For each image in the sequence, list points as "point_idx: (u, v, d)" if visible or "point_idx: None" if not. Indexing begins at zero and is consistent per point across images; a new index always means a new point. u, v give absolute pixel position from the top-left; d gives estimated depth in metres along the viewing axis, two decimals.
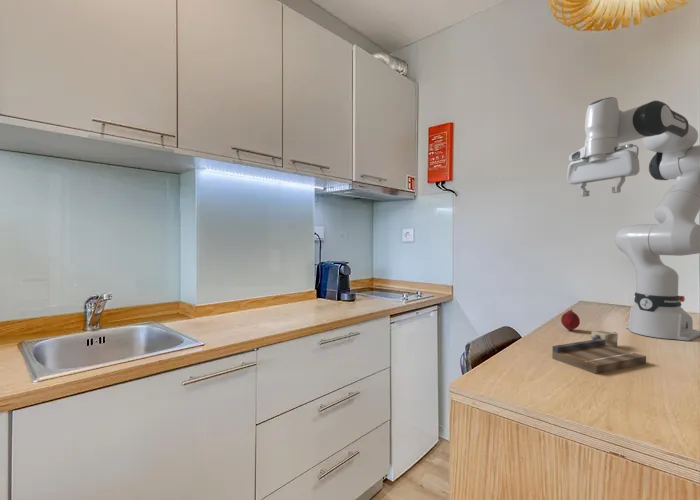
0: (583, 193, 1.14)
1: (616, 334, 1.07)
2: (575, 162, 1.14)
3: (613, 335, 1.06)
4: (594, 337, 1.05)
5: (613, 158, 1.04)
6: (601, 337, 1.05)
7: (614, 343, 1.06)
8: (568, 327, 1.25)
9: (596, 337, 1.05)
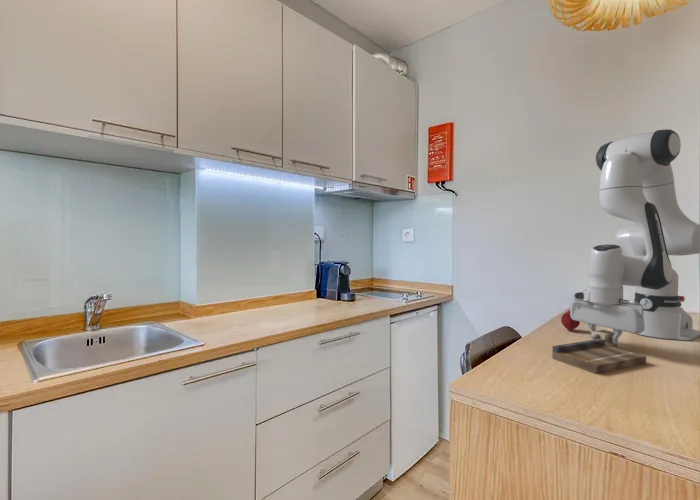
0: None
1: None
2: (578, 301, 1.12)
3: None
4: (594, 337, 1.05)
5: (617, 311, 1.02)
6: (601, 337, 1.05)
7: None
8: (568, 327, 1.25)
9: (596, 337, 1.05)
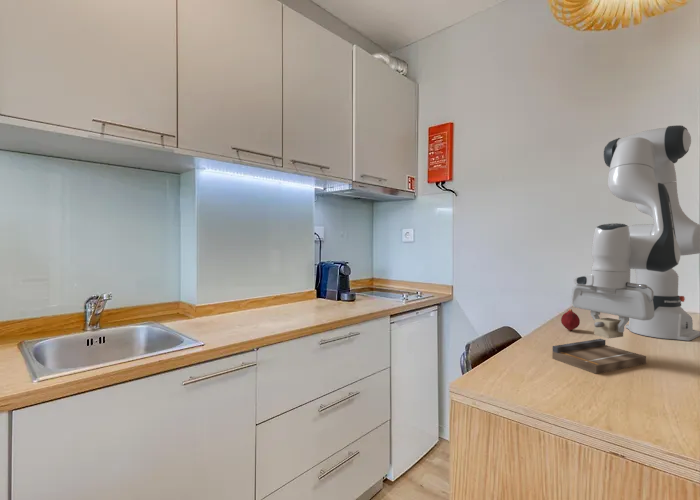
0: None
1: None
2: (581, 287, 1.02)
3: (619, 322, 0.96)
4: (598, 324, 0.95)
5: (624, 296, 0.92)
6: (605, 324, 0.95)
7: None
8: (568, 327, 1.25)
9: (600, 324, 0.95)
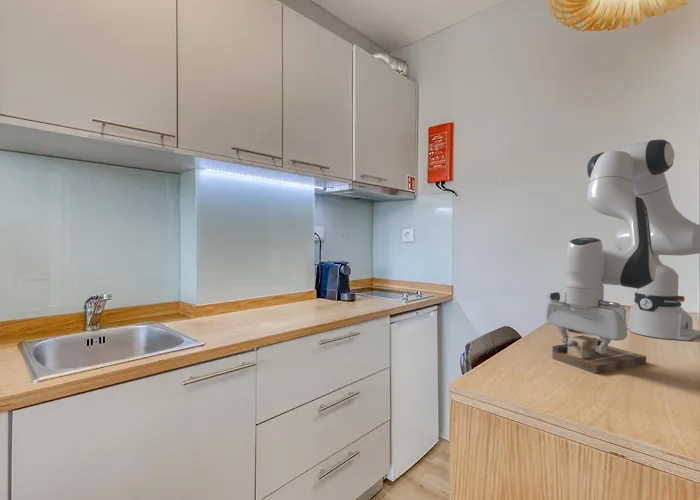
0: (563, 340, 0.98)
1: (596, 340, 0.93)
2: (554, 303, 0.99)
3: (592, 341, 0.92)
4: (570, 344, 0.92)
5: (597, 314, 0.88)
6: (578, 344, 0.92)
7: (593, 351, 0.93)
8: None
9: (572, 344, 0.92)
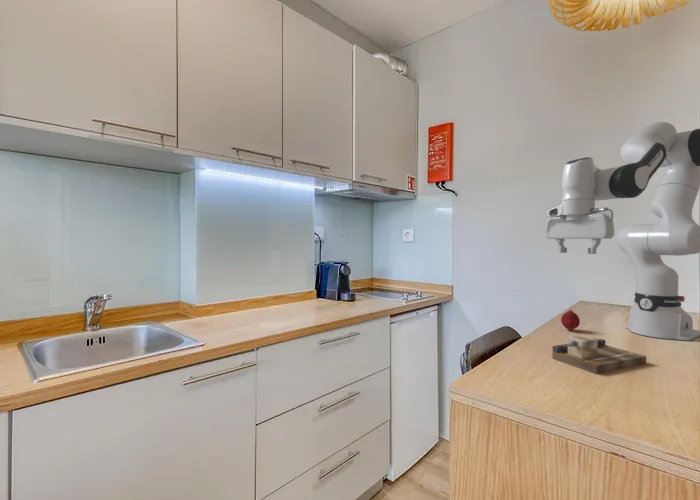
0: (561, 250, 1.13)
1: (596, 340, 0.93)
2: (553, 218, 1.14)
3: (592, 341, 0.92)
4: (570, 344, 0.92)
5: (589, 220, 1.04)
6: (578, 344, 0.92)
7: (593, 351, 0.93)
8: (568, 327, 1.25)
9: (572, 344, 0.92)
